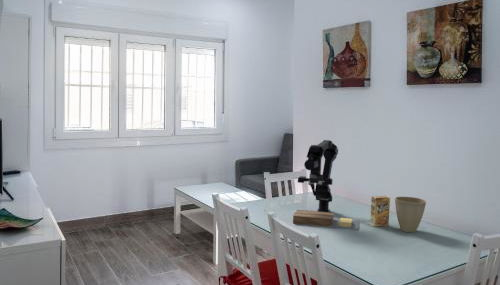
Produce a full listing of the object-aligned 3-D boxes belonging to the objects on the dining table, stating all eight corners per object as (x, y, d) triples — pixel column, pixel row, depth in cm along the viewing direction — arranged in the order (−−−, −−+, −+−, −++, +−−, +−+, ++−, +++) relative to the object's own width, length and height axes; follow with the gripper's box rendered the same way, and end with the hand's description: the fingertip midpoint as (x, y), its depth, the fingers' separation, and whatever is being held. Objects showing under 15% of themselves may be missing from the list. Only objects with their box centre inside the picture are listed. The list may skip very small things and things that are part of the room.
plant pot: (424, 236, 207) (426, 204, 206) (392, 232, 213) (394, 201, 211) (423, 228, 221) (425, 198, 220) (393, 224, 226) (395, 195, 225)
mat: (334, 219, 233) (334, 218, 233) (358, 221, 230) (358, 221, 230) (332, 227, 218) (332, 226, 218) (358, 230, 215) (358, 229, 215)
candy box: (374, 226, 221) (375, 197, 220) (369, 224, 225) (371, 196, 224) (388, 225, 224) (390, 197, 223) (384, 223, 228) (385, 195, 227)
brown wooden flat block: (296, 216, 238) (297, 209, 237) (333, 220, 233) (333, 212, 232) (293, 223, 224) (293, 215, 224) (331, 227, 219) (331, 219, 219)
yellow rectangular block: (352, 218, 227) (351, 222, 227) (340, 217, 229) (340, 221, 229) (351, 223, 218) (351, 227, 219) (339, 222, 220) (339, 225, 220)
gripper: (296, 168, 230) (295, 197, 232) (331, 171, 226) (330, 200, 227) (299, 166, 241) (298, 193, 243) (333, 168, 236) (332, 195, 238)
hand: (314, 195), depth 237 cm, fingers closed
